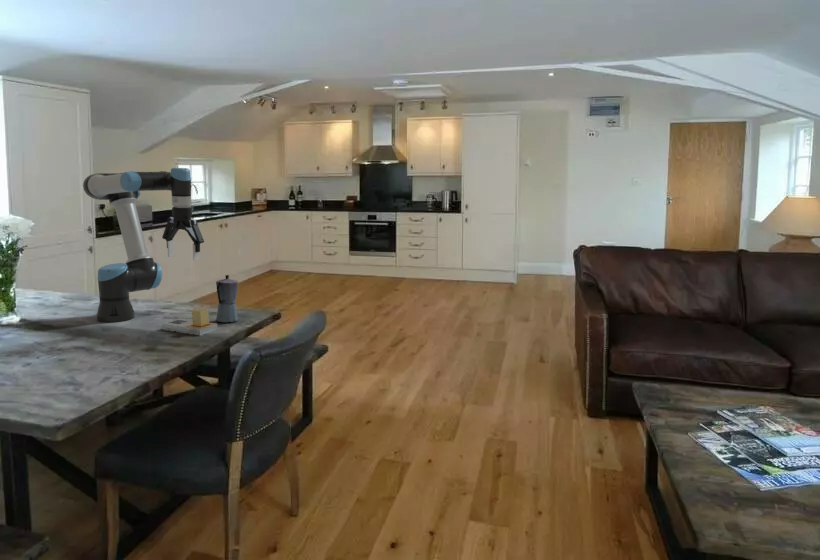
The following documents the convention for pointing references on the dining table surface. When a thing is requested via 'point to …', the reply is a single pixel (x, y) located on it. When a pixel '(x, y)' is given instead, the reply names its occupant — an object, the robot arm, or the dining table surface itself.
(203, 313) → the tan rectangular block
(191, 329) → the grey shape sorter board
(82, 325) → the dining table surface
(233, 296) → the moka pot
